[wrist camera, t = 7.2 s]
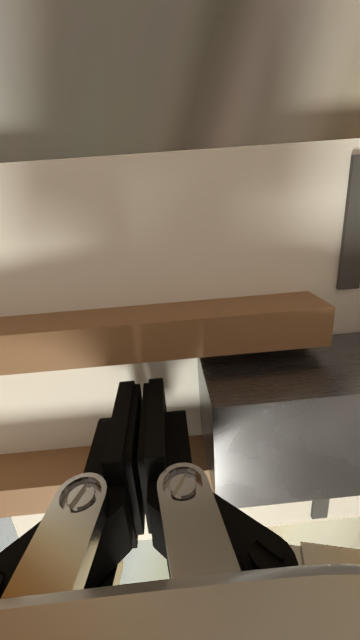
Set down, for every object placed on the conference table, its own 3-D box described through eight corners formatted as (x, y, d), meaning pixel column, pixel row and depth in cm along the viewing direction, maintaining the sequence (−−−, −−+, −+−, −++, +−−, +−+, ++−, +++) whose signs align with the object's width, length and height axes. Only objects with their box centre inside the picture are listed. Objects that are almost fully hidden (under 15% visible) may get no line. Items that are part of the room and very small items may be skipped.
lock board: (541, 130, 11) (820, 76, 7) (434, 487, 18) (536, 593, 13) (-89, 174, 11) (-294, 149, 6) (33, 530, 17) (-17, 658, 12)
